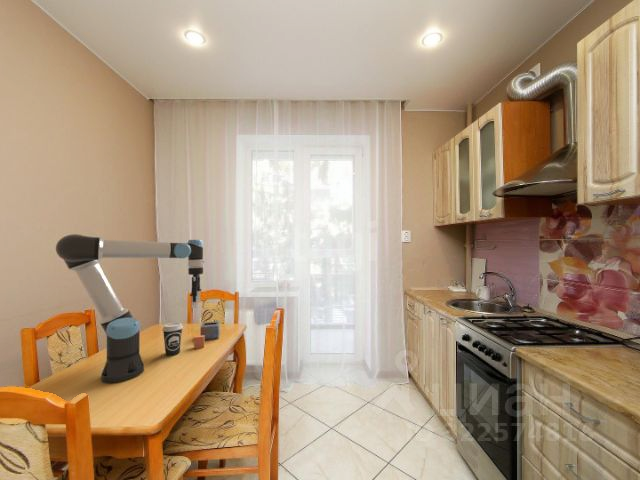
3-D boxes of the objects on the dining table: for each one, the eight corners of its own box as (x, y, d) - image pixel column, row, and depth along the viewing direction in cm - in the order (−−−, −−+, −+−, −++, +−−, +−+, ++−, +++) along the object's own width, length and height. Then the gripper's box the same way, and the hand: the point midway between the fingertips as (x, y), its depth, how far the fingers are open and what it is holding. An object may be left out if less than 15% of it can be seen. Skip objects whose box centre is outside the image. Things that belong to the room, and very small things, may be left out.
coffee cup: (186, 350, 143) (186, 322, 143) (175, 357, 133) (175, 327, 133) (170, 349, 144) (170, 321, 144) (157, 357, 134) (157, 327, 134)
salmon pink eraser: (203, 347, 146) (203, 336, 146) (193, 348, 145) (193, 337, 145) (204, 345, 148) (204, 335, 149) (194, 347, 147) (194, 336, 147)
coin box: (218, 338, 160) (218, 325, 160) (200, 340, 157) (200, 327, 157) (219, 333, 169) (219, 320, 169) (203, 335, 166) (203, 322, 167)
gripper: (200, 268, 137) (201, 309, 137) (205, 265, 161) (205, 300, 161) (184, 269, 135) (185, 311, 135) (191, 265, 159) (191, 301, 158)
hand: (196, 305), depth 148 cm, fingers open, 13 cm apart
